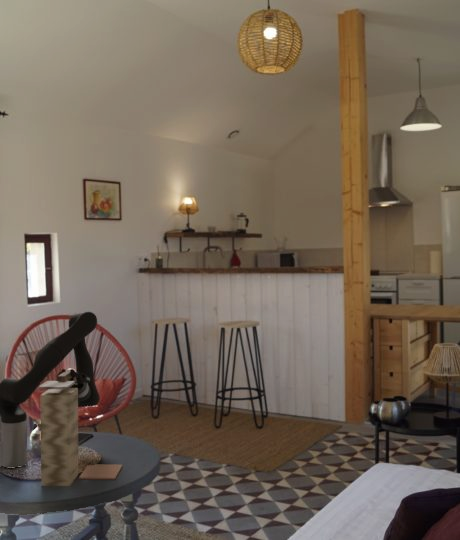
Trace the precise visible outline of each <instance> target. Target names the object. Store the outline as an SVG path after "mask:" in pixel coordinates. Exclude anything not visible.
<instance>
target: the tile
mask: <svg viewBox="0 0 460 540" xmlns="http://www.w3.org/2000/svg"><path fill="white" fill-rule="evenodd" d="M94 464H95V465H92V466H88V465H87V466H86V467H85V468H84V470H83V472H81V474H80V476H79V477H78V480H116V478H117V477H118V475H119V473H120V471H121V470H122V468H123V464H115V463H114V464H111V463H110V464H100V463H98V464H96V463H94Z"/></svg>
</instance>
